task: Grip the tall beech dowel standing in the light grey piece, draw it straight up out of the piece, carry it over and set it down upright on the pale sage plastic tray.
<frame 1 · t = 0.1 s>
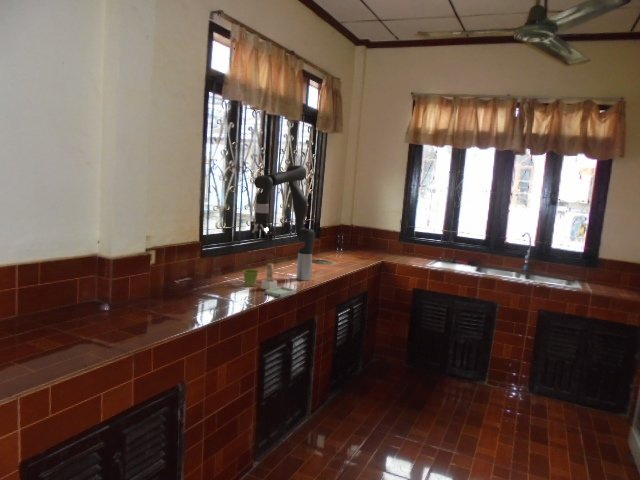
hand: (260, 240, 263), 29 cm above the counter, fingers open, 8 cm apart
light grey piece: (268, 288, 271), on the counter
tray: (280, 293, 262), on the counter
dowel: (269, 287, 271), point 1 cm above the counter, touching light grey piece
plant pot: (250, 285, 276), on the counter
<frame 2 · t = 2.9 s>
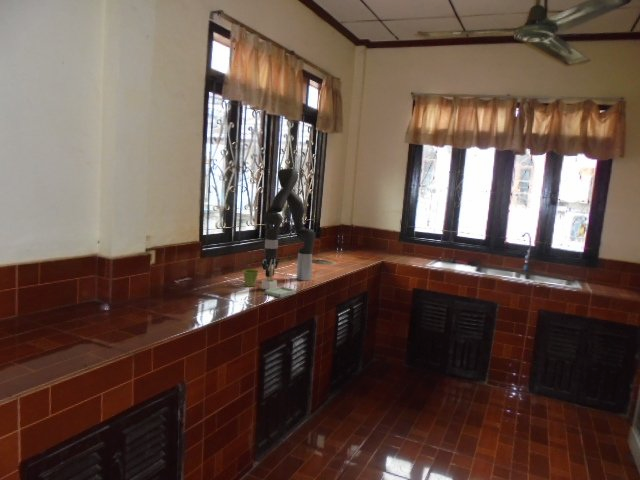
hand: (269, 276, 270), 8 cm above the counter, fingers closed on dowel, 3 cm apart
dowel: (269, 287, 271), point 1 cm above the counter, touching light grey piece, gripper
everything else where it was.
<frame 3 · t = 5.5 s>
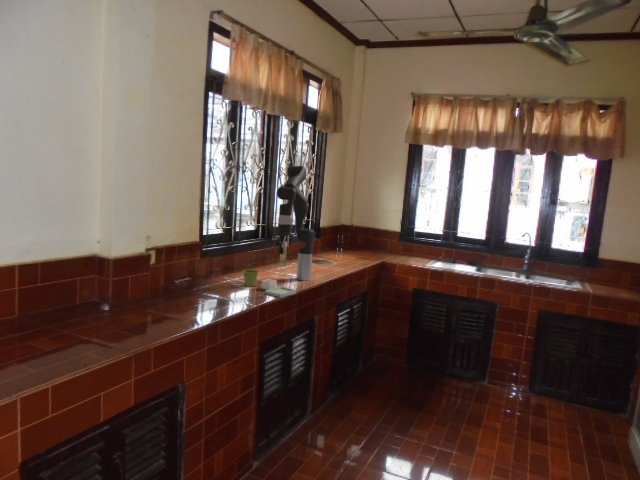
hand: (283, 253, 259), 23 cm above the counter, fingers closed on dowel, 3 cm apart
dowel: (282, 265, 260), point 16 cm above the counter, touching gripper
everything else where it was.
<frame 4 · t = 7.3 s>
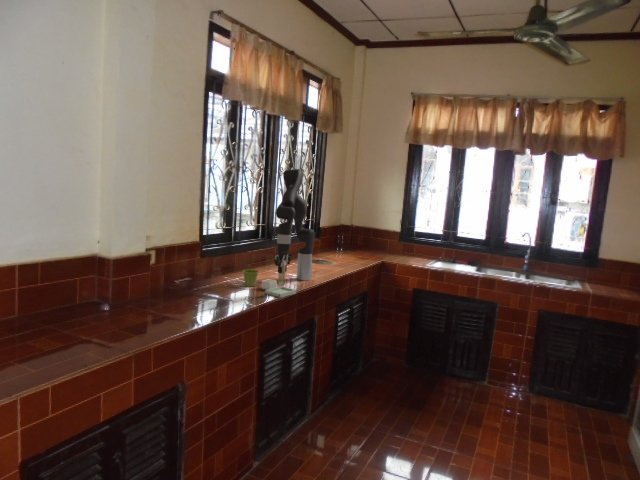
hand: (282, 272, 260), 12 cm above the counter, fingers closed on dowel, 3 cm apart
dowel: (281, 284, 261), point 5 cm above the counter, touching gripper
everything else where it was.
when the fingers open (8 cm above the counter, at t = 8.5 s): dowel stays where it is, resting on tray.
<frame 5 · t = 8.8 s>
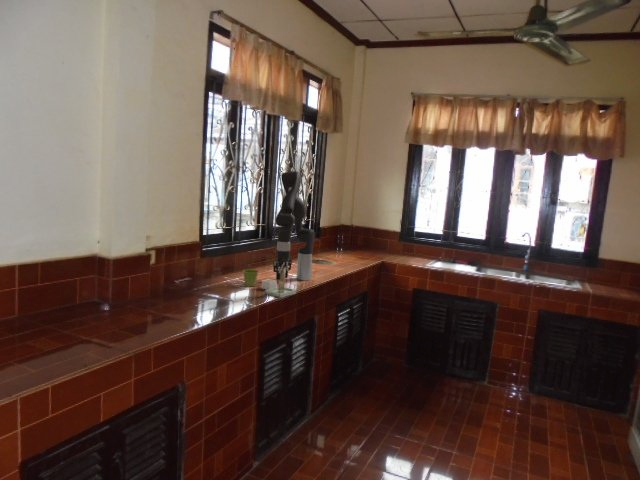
hand: (281, 278, 261), 9 cm above the counter, fingers open, 6 cm apart
dowel: (281, 292, 262), point 1 cm above the counter, touching tray
everything else where it was.
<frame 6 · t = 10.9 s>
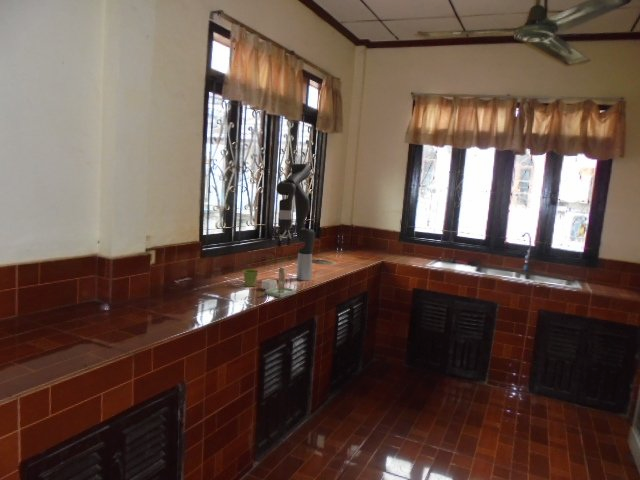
hand: (283, 246, 265), 26 cm above the counter, fingers open, 8 cm apart
nothing on the counter moved.
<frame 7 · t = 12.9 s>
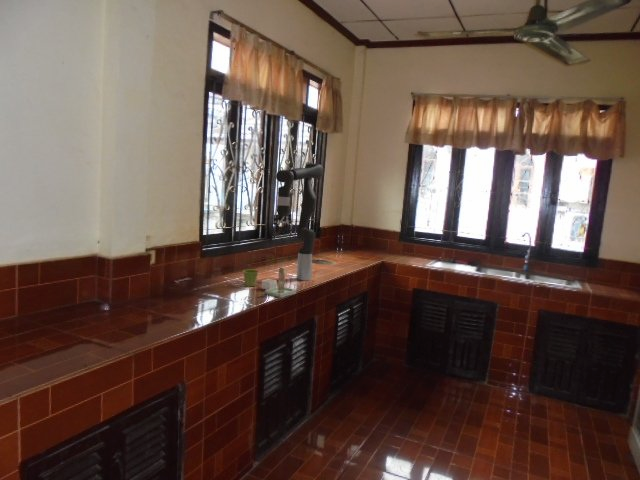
hand: (281, 231, 275), 33 cm above the counter, fingers open, 8 cm apart
nothing on the counter moved.
at the end: dowel inside the target area on the tray (0.1 cm from its centre), point 0.8 cm above the tray's base; the gripper is holding nothing; dowel touching tray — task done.
